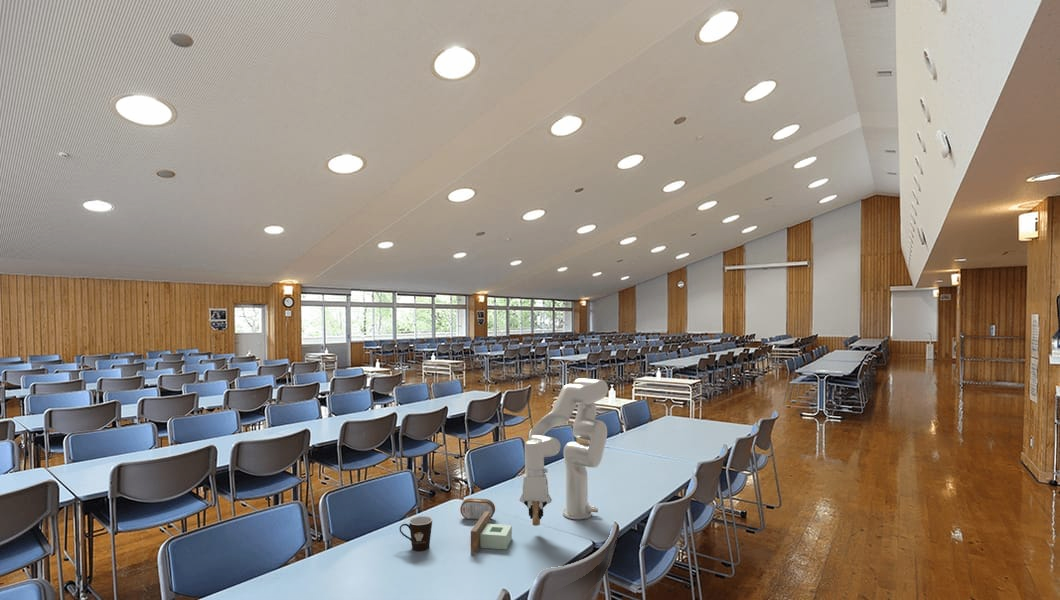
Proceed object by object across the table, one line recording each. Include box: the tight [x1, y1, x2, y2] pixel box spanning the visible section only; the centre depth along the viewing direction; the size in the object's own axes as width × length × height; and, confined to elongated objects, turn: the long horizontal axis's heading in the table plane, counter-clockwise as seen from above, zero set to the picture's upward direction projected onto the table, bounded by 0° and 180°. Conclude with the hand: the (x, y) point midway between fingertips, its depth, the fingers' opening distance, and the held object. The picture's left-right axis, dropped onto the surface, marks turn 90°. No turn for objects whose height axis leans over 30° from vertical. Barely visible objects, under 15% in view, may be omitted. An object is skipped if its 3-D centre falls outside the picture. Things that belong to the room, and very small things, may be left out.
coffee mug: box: [399, 515, 433, 552], centre depth 192 cm, size 12×9×10 cm
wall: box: [470, 511, 491, 555], centre depth 196 cm, size 2×20×8 cm, turn 170°
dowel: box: [531, 501, 541, 527], centre depth 204 cm, size 3×3×10 cm
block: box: [479, 523, 513, 550], centre depth 195 cm, size 10×10×5 cm
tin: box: [459, 498, 496, 521], centre depth 219 cm, size 15×3×8 cm, turn 84°
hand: (536, 517), depth 204 cm, fingers closed on dowel, 3 cm apart
